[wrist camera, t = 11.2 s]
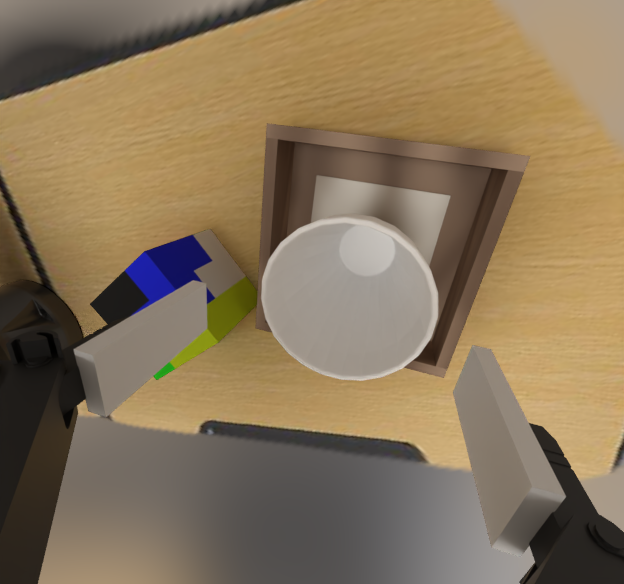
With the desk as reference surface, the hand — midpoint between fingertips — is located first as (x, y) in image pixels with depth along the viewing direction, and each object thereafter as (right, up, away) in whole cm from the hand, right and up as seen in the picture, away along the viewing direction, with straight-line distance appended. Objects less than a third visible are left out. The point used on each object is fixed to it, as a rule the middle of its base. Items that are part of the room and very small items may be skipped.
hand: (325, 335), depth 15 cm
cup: (+5, +6, +15) cm, 17 cm away
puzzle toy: (-13, +3, +23) cm, 27 cm away
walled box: (+5, +7, +16) cm, 18 cm away
